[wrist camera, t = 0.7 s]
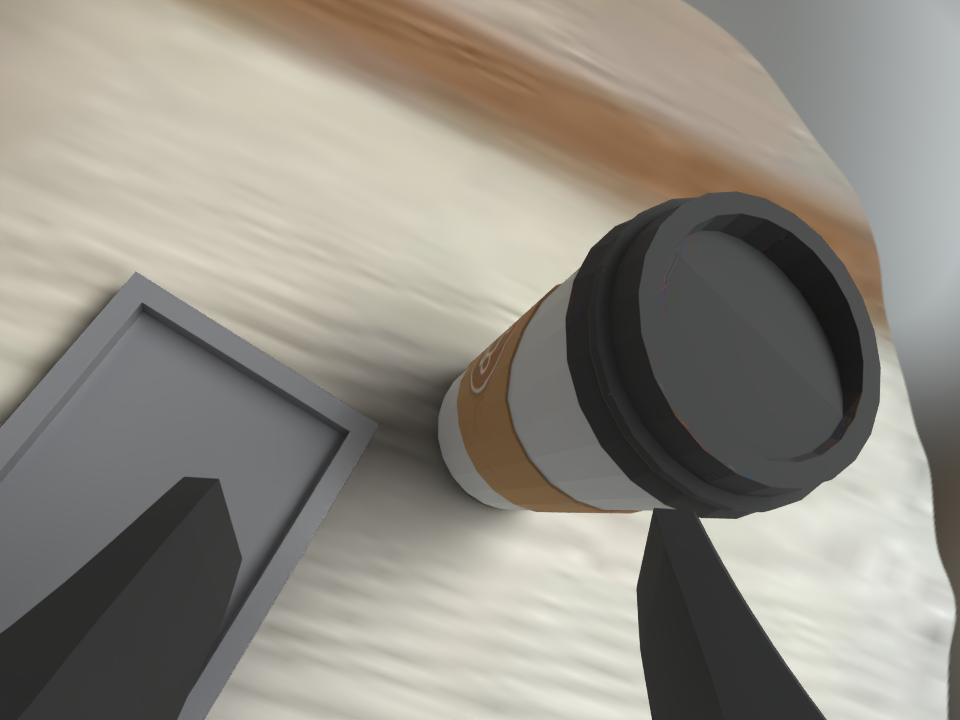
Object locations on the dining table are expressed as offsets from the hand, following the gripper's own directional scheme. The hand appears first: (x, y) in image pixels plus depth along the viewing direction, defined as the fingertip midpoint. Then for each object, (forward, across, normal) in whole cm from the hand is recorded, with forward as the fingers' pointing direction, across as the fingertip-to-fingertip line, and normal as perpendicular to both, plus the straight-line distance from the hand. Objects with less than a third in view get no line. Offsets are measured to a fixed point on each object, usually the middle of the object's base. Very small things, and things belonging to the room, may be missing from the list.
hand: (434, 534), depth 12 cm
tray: (+7, +11, +9) cm, 16 cm away
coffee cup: (+15, 0, +11) cm, 18 cm away
